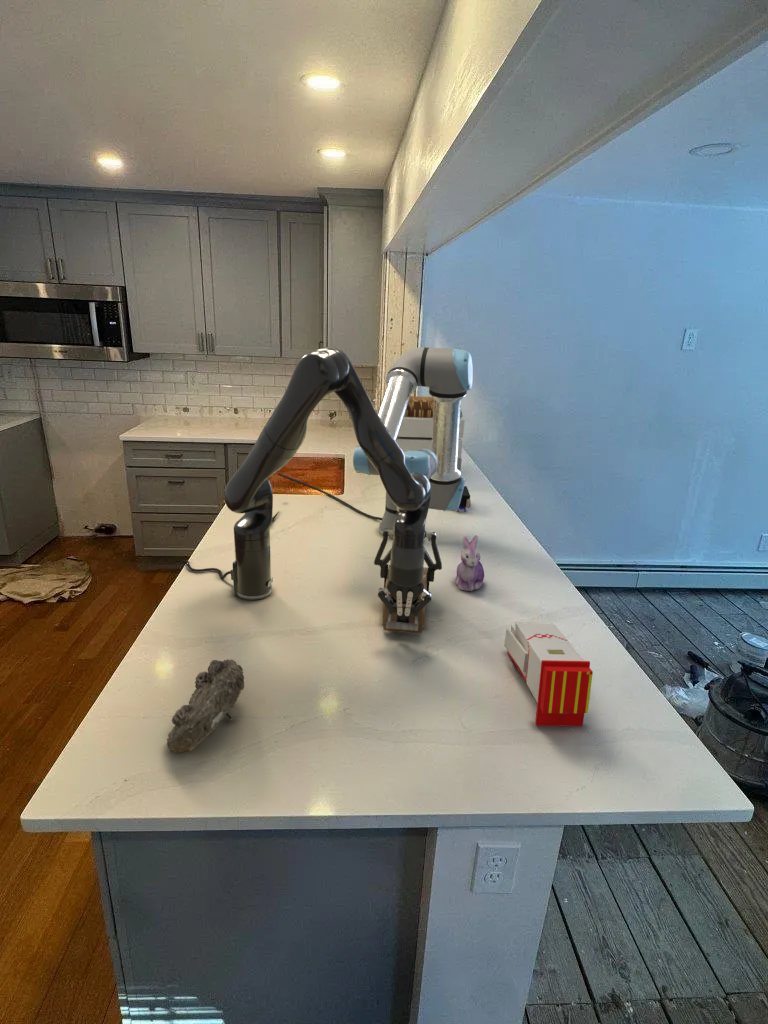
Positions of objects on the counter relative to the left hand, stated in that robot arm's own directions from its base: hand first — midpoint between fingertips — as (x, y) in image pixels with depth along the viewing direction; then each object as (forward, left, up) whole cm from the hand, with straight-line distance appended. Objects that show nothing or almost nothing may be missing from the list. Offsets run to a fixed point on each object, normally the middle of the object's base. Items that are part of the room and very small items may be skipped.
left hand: (402, 627), depth 134 cm
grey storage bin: (-11, +149, -4) cm, 149 cm away
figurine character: (+10, +103, -4) cm, 103 cm away
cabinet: (-1, +15, -4) cm, 16 cm away
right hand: (-1, +19, 0) cm, 19 cm away
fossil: (-32, -34, -4) cm, 47 cm away
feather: (-57, +74, -4) cm, 94 cm away
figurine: (+15, +34, -4) cm, 38 cm away
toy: (+31, -9, -4) cm, 33 cm away
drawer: (-1, +8, -3) cm, 8 cm away
